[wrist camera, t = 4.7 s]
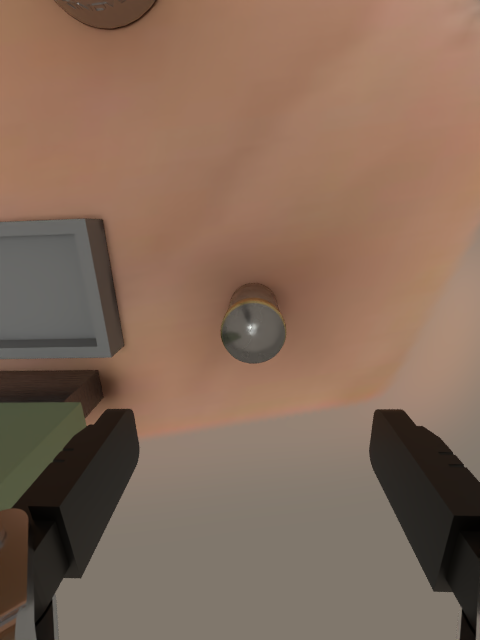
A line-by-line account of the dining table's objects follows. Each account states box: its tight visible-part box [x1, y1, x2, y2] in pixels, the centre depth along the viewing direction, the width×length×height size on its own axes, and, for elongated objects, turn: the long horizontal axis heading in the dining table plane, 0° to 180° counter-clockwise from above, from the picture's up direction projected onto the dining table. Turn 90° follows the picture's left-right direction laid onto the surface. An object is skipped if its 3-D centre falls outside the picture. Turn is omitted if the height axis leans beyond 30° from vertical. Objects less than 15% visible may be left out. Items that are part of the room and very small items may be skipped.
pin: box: [221, 283, 286, 363], centre depth 21 cm, size 4×4×7 cm
